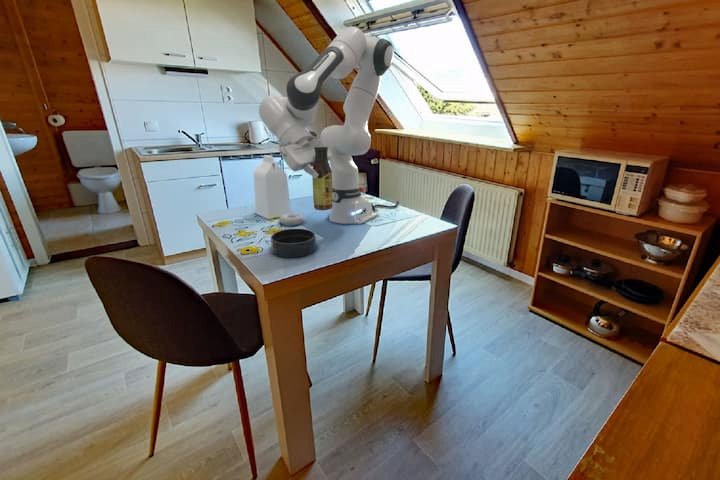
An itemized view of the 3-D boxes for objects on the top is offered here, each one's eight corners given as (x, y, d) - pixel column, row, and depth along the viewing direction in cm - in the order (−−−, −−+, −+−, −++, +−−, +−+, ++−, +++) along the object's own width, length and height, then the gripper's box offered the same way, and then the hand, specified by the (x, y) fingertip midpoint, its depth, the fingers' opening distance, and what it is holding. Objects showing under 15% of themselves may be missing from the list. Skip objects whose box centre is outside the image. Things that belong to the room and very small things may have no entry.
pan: (298, 238, 129) (298, 225, 128) (324, 249, 120) (323, 235, 118) (263, 249, 119) (262, 235, 118) (288, 262, 110) (287, 247, 108)
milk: (255, 213, 159) (249, 155, 149) (278, 208, 166) (273, 153, 156) (268, 219, 150) (262, 158, 141) (291, 214, 158) (287, 156, 148)
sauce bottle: (329, 211, 110) (327, 147, 102) (311, 210, 111) (307, 147, 104) (335, 205, 116) (333, 145, 108) (317, 204, 117) (314, 144, 109)
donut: (304, 219, 151) (281, 219, 150) (304, 212, 150) (280, 211, 149) (302, 227, 142) (278, 227, 141) (302, 219, 140) (277, 219, 140)
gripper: (281, 137, 99) (311, 174, 99) (319, 132, 116) (345, 163, 116) (270, 152, 103) (299, 187, 102) (308, 145, 120) (334, 175, 119)
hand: (324, 174), depth 109 cm, fingers closed on sauce bottle, 6 cm apart
